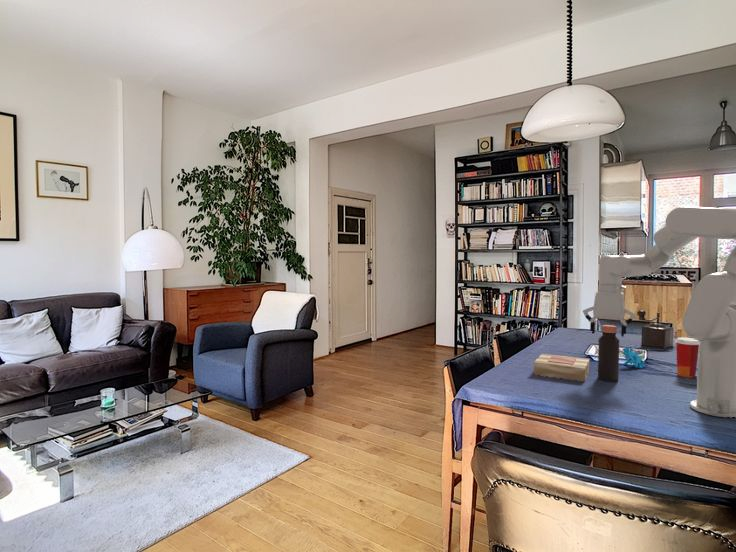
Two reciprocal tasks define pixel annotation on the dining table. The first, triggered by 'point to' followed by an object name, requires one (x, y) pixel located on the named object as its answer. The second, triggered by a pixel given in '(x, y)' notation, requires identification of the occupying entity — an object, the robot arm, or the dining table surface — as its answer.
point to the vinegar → (608, 354)
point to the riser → (562, 367)
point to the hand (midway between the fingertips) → (607, 334)
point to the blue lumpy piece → (633, 358)
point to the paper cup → (687, 356)
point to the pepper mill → (655, 333)
